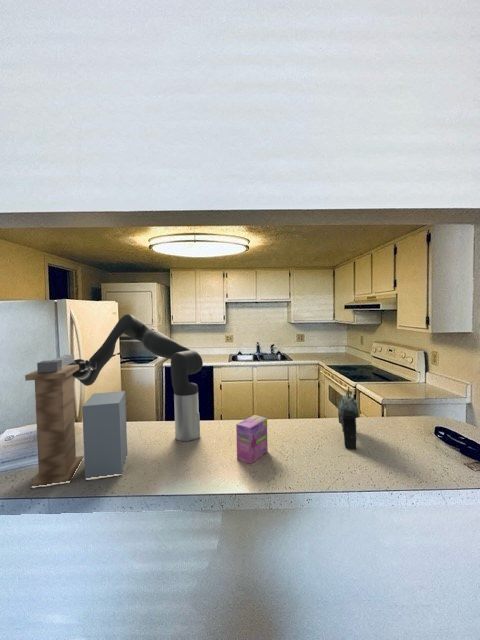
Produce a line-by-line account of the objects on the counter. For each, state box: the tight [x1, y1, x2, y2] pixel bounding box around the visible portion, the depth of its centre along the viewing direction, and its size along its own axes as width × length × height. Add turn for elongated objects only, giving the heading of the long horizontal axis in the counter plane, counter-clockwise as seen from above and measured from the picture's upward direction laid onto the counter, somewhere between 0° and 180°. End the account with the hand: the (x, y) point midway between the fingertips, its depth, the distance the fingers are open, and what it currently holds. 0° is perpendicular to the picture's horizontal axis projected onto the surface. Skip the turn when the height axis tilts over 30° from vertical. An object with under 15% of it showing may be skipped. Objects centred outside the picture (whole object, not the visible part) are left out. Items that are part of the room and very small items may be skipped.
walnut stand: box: [24, 365, 84, 488], centre depth 92 cm, size 10×14×32 cm
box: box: [235, 414, 268, 465], centre depth 101 cm, size 10×6×12 cm, turn 143°
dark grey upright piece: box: [337, 386, 359, 450], centre depth 111 cm, size 20×6×20 cm, turn 165°
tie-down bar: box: [36, 354, 75, 374], centre depth 96 cm, size 20×5×3 cm, turn 14°
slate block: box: [81, 390, 128, 480], centre depth 95 cm, size 10×14×22 cm
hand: (73, 363), depth 113 cm, fingers open, 8 cm apart
